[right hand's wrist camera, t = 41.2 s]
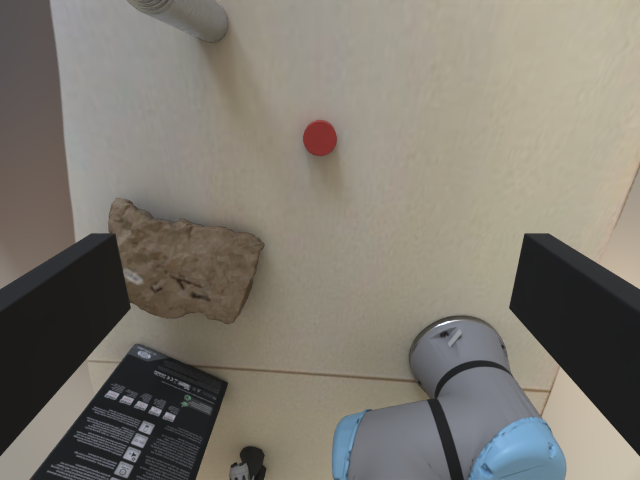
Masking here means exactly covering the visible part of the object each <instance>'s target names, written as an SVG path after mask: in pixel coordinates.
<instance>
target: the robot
mask: <svg viewBox="0 0 640 480" xmlns="http://www.w3.org/2000/svg"><path fill="white" fill-rule="evenodd" d="M240 458H241V460H242V462H243V463H240V464H237V462H236V463H234V464H233V465H231V467H230V473H229V477H230V480H264V477H265V472H266V468H265V467H264V466H263V465H262V463H263V459H264V454H263V452H262V450H260V449H257V448H254V447H247V448H244V449H243V450H242V452H241V453H240Z"/></svg>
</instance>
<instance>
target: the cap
mask: <svg viewBox="0 0 640 480" xmlns="http://www.w3.org/2000/svg"><path fill="white" fill-rule="evenodd" d="M303 141H304V145H305V147H306V149H307V150H308V151H309V152H310V153H312V154H313V155H317V156H324V155H327V154H328V153H330V152H331V151H332V150H333V149H334V147H335V145H336V141H337V136H336V132H335V130H334V128H333V126H332V125H331V124H330V123H328V122H326V121H323V120H317V121H314V122H312V123H310V124H309V125H308V126H307V128H306V130H305V132H304V136H303Z"/></svg>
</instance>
